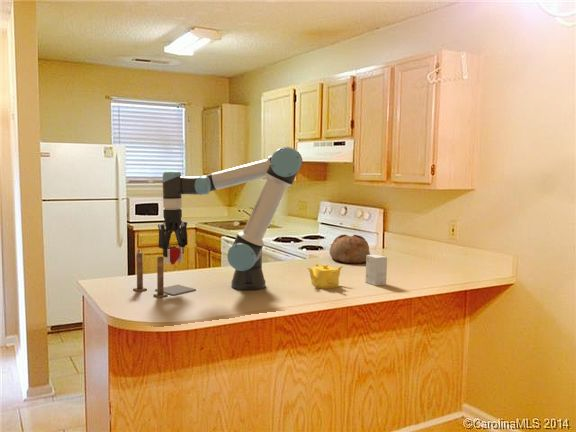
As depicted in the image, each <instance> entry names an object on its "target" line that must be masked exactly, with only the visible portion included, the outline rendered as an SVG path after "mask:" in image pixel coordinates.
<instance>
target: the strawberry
mask: <svg viewBox="0 0 576 432" xmlns="http://www.w3.org/2000/svg"><path fill="white" fill-rule="evenodd" d="M170 243H171V245H169V246H168V249H170V265H175V264H176V262H177V260H178V258H179V256H180V249H179V248H177V247H178V244H177V245H173V242H172V241H170Z"/></svg>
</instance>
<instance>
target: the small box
mask: <svg viewBox="0 0 576 432" xmlns="http://www.w3.org/2000/svg"><path fill="white" fill-rule="evenodd" d="M365 264H366V265H365V283H367V284H370V285H372V286H376V287H377V286H384V285H385V286H386V285H387V270H388V257H387V256H383V255H379V254H370V255H366V262H365Z"/></svg>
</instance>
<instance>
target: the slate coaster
mask: <svg viewBox="0 0 576 432" xmlns="http://www.w3.org/2000/svg"><path fill="white" fill-rule="evenodd" d="M154 291H155V292H157V288H155V289H154ZM195 291H197V289H196V288H193V287H188V286H185V285H181V284H174V285H170V286H165V287H164V293H165V294H168V295H169V296H178V295H182V294H186V293H190V292H195Z"/></svg>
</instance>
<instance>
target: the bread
mask: <svg viewBox="0 0 576 432" xmlns="http://www.w3.org/2000/svg"><path fill="white" fill-rule="evenodd" d="M329 255H330V257H331V258H332V260H335V261H336V262H341V263H344V264H364V263H366V255H371V253H370V245H369V243H368V241H367V240H366V238H364V237H363V236H361V235H358V234H353V235H347V234H341V235H340V234H339V235H338V236H336V237H335V238H334V239H333V242H332V244H331V245H330V247H329Z"/></svg>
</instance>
